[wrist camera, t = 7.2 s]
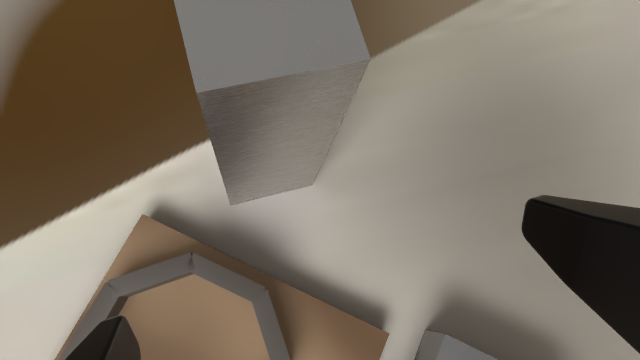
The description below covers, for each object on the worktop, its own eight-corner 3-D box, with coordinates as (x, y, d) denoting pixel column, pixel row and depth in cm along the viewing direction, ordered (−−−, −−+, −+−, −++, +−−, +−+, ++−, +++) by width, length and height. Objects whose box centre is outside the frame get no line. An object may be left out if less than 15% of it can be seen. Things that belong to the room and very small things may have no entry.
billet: (311, 185, 24) (370, 58, 11) (230, 205, 23) (196, 93, 10) (290, 110, 25) (322, -82, 12) (211, 127, 24) (159, -61, 11)
